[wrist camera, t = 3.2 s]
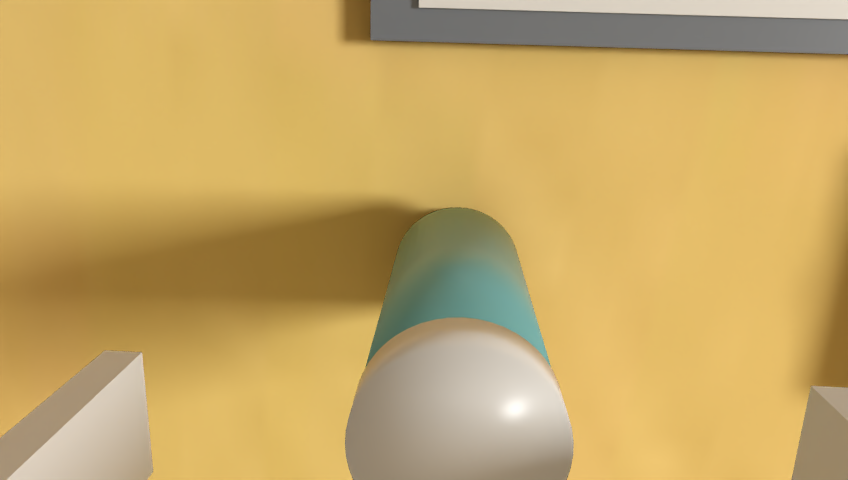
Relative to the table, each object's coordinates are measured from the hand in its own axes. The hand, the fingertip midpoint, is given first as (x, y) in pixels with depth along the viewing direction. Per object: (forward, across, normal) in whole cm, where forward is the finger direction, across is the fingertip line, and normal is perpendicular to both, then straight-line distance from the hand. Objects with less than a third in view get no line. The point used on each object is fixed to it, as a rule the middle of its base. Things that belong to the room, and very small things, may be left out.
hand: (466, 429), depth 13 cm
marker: (+11, 0, 0) cm, 11 cm away
